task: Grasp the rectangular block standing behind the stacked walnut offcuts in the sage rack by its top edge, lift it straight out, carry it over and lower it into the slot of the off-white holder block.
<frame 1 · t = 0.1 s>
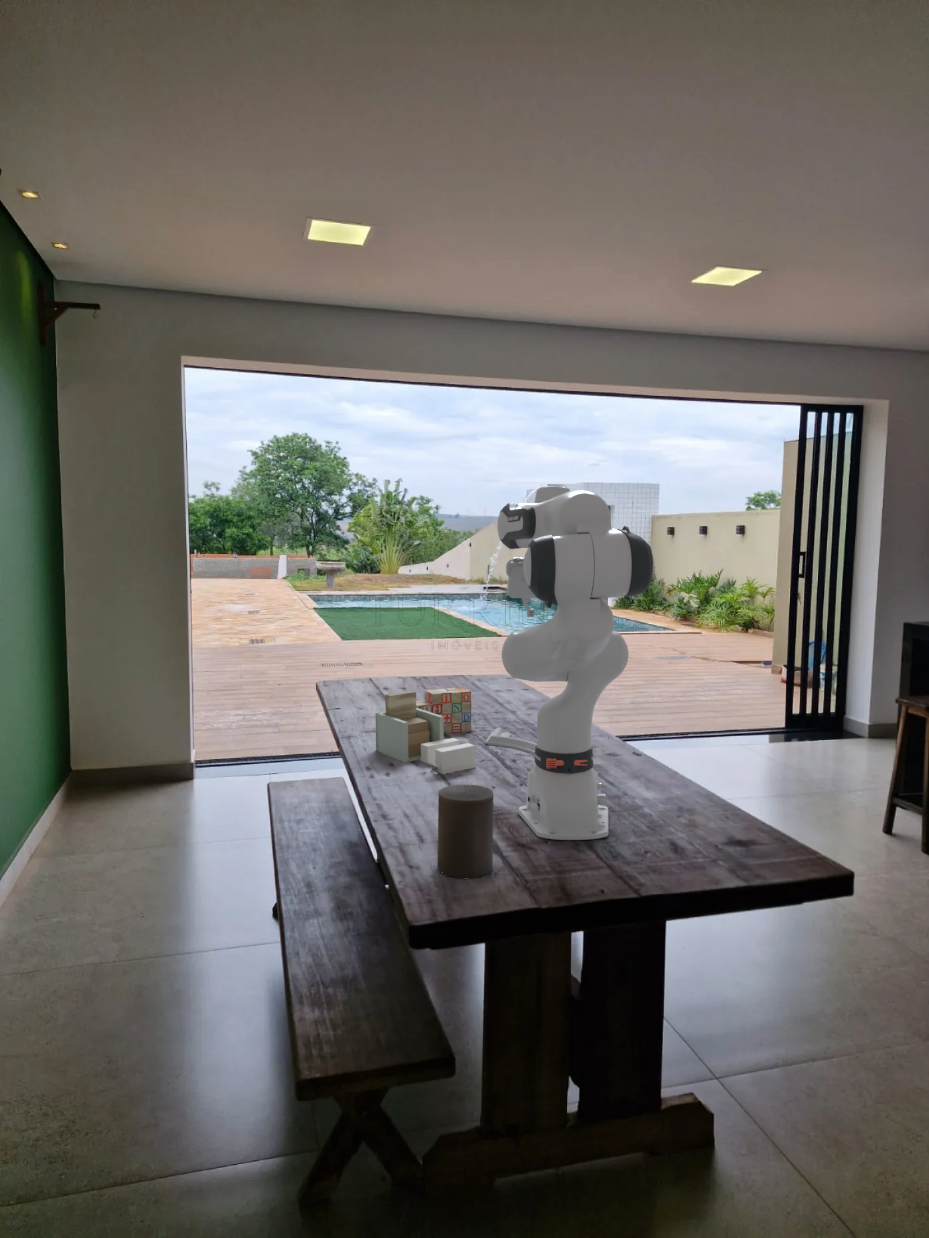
hand: (550, 616, 190), 39 cm above the table, tool pointing down, fingers open, 8 cm apart
pillar candle: (465, 868, 144), on the table
stack of blocks: (433, 733, 240), on the table
molding: (537, 753, 220), on the table
holder: (447, 766, 206), on the table
rack: (409, 756, 214), on the table
rectangular block: (401, 748, 218), point 1 cm above the table, touching rack
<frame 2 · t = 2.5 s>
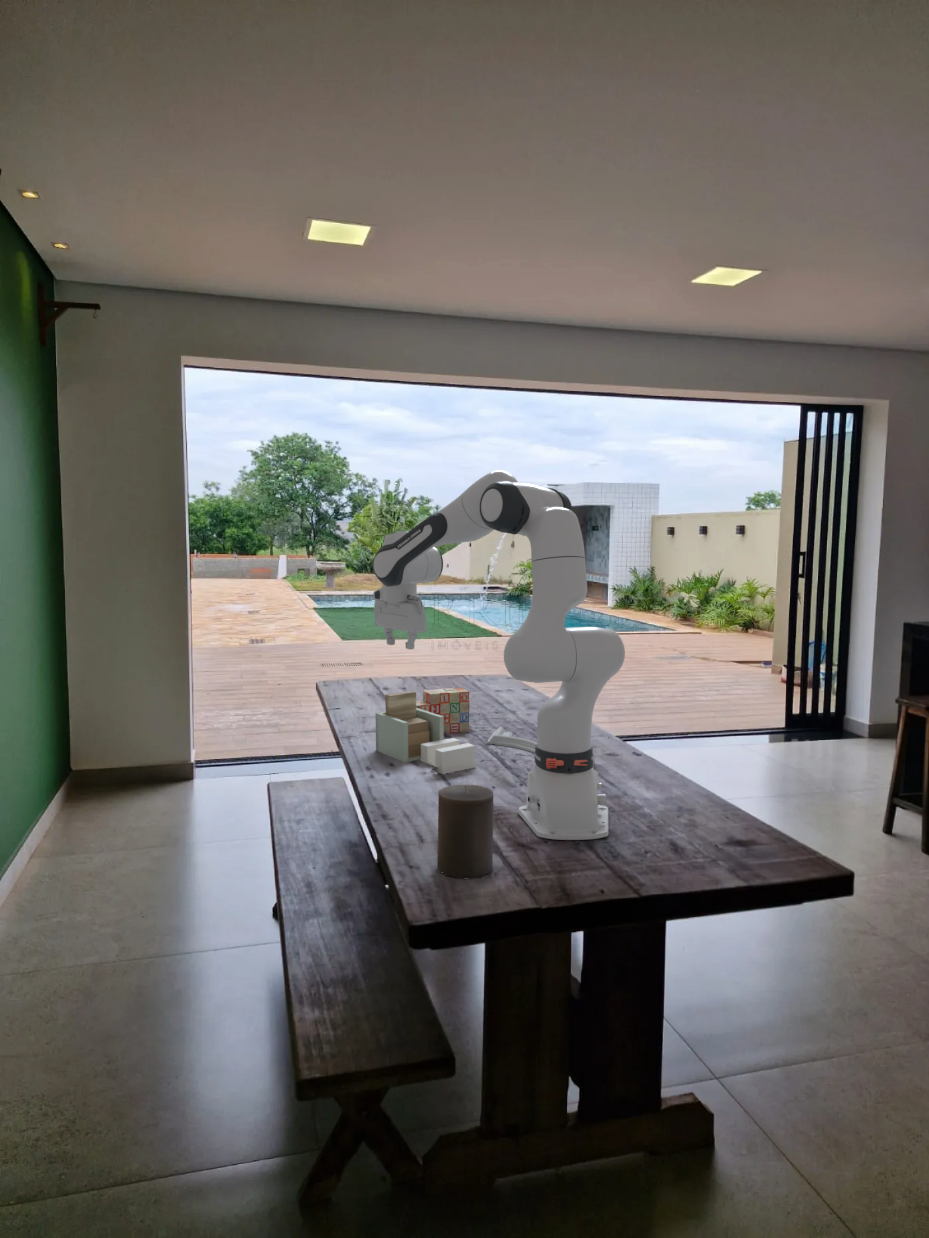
hand: (400, 646, 215), 29 cm above the table, tool pointing down, fingers open, 8 cm apart
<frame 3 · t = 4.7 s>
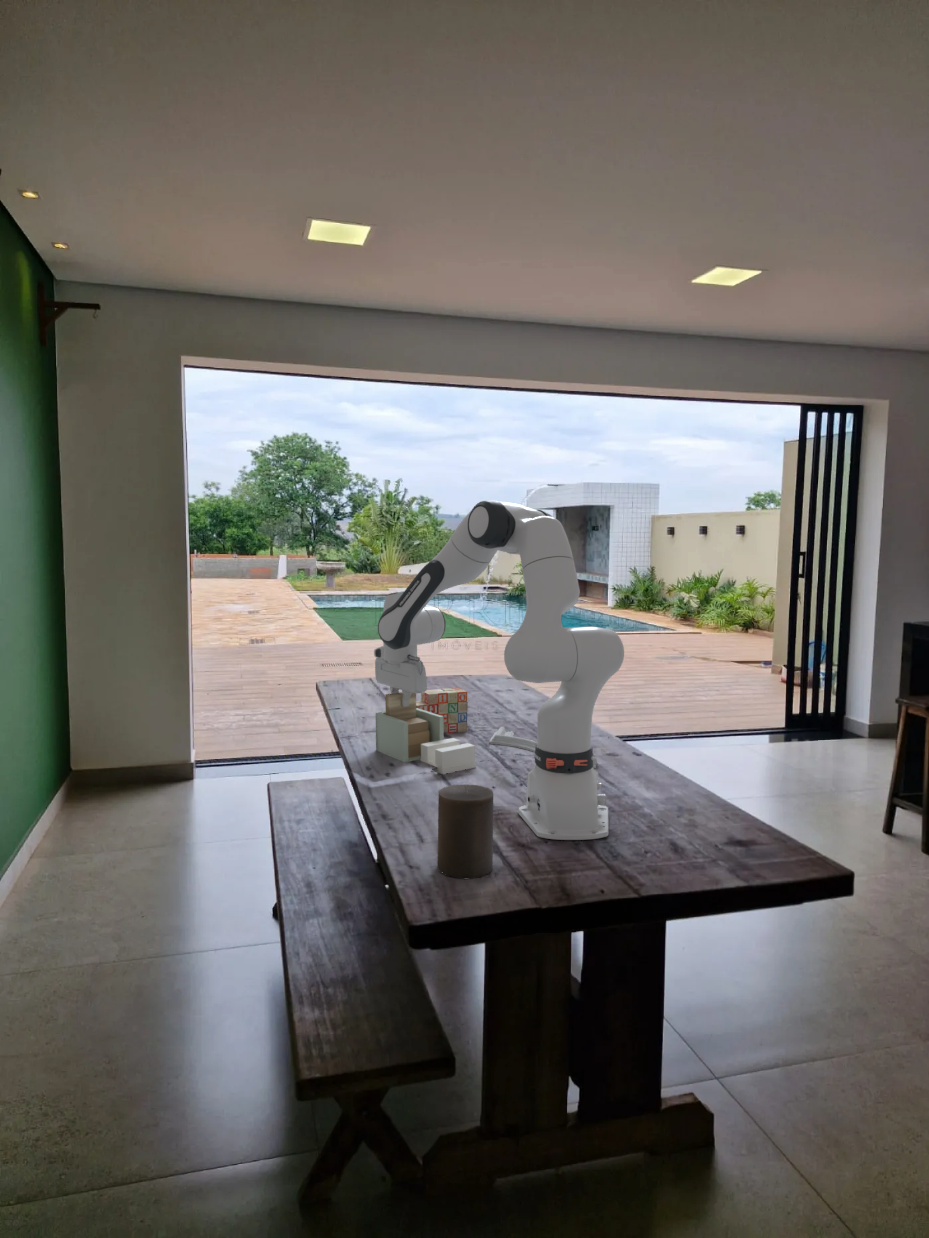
hand: (400, 704, 216), 13 cm above the table, tool pointing down, fingers closed on rectangular block, 2 cm apart
rectangular block: (401, 748, 218), point 1 cm above the table, touching gripper, rack
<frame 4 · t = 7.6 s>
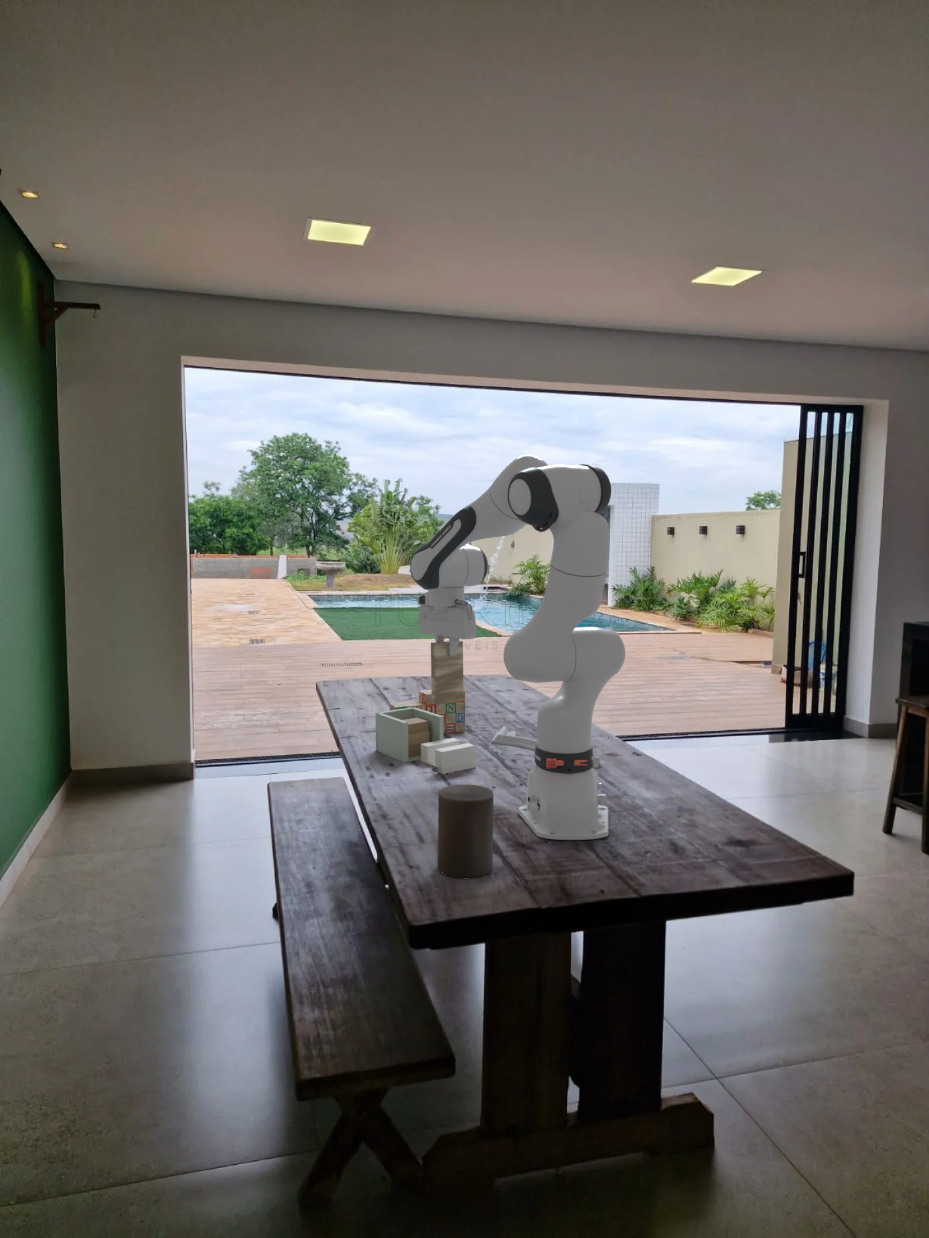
hand: (447, 654, 203), 28 cm above the table, tool pointing down, fingers closed on rectangular block, 2 cm apart
rectangular block: (447, 702, 204), point 16 cm above the table, touching gripper
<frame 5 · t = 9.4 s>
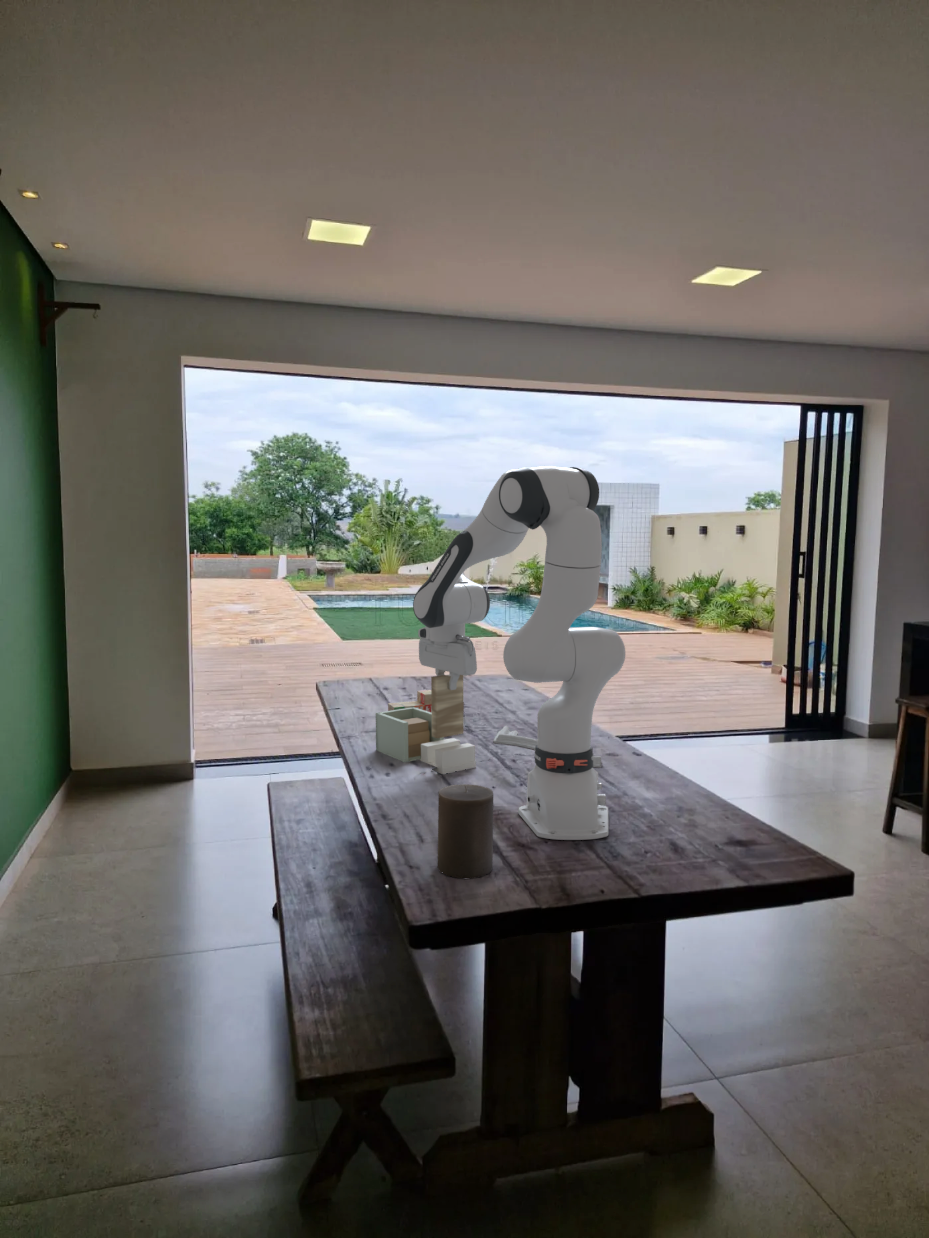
hand: (447, 688, 204), 20 cm above the table, tool pointing down, fingers closed on rectangular block, 2 cm apart
rectangular block: (447, 734, 205), point 8 cm above the table, touching gripper
when the fingers open (14 cm above the table, at t = 10.7 s): rectangular block drops 1 cm, resting on holder.
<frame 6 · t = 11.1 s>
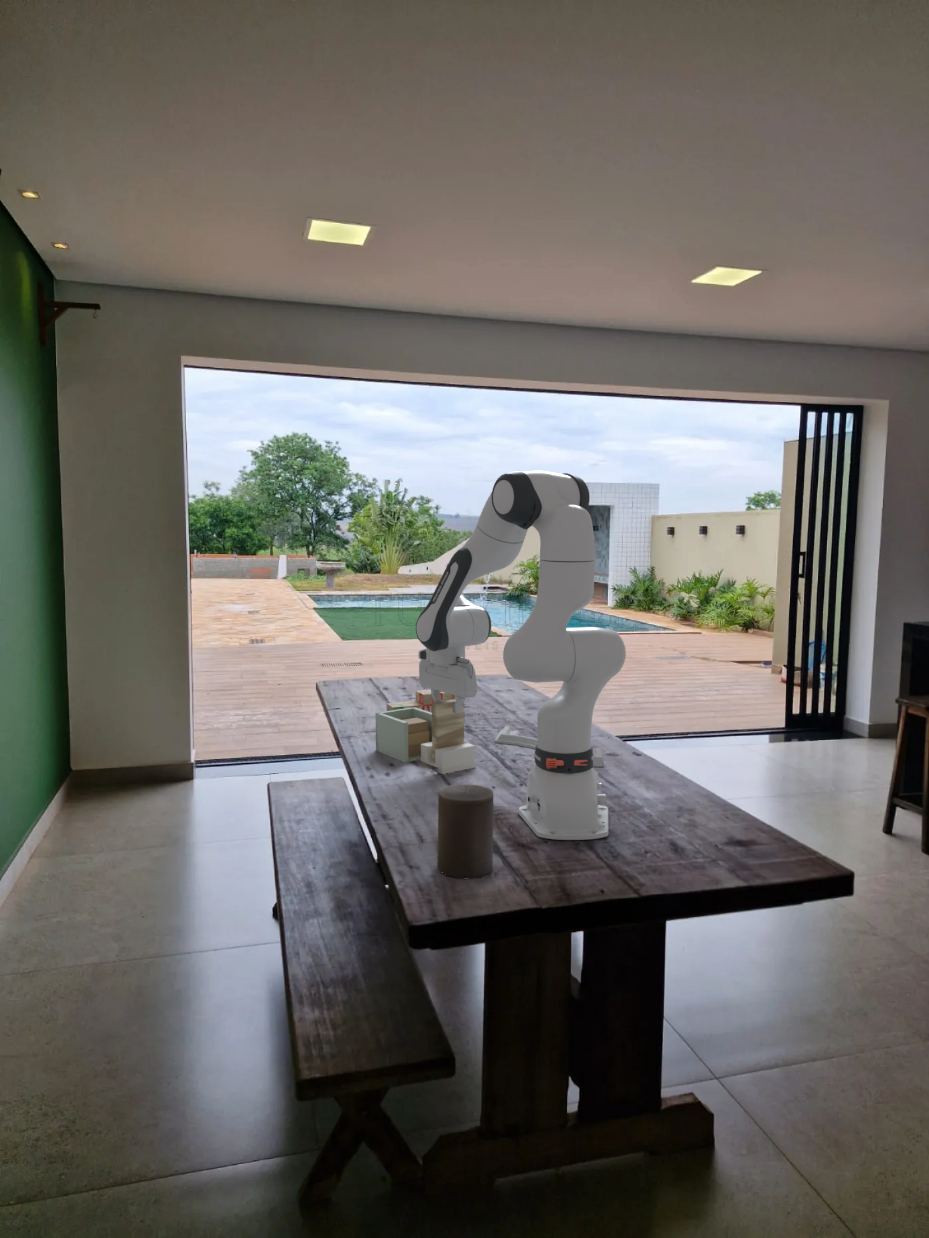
hand: (447, 709, 204), 14 cm above the table, tool pointing down, fingers open, 7 cm apart
rectangular block: (448, 760, 205), point 1 cm above the table, touching holder
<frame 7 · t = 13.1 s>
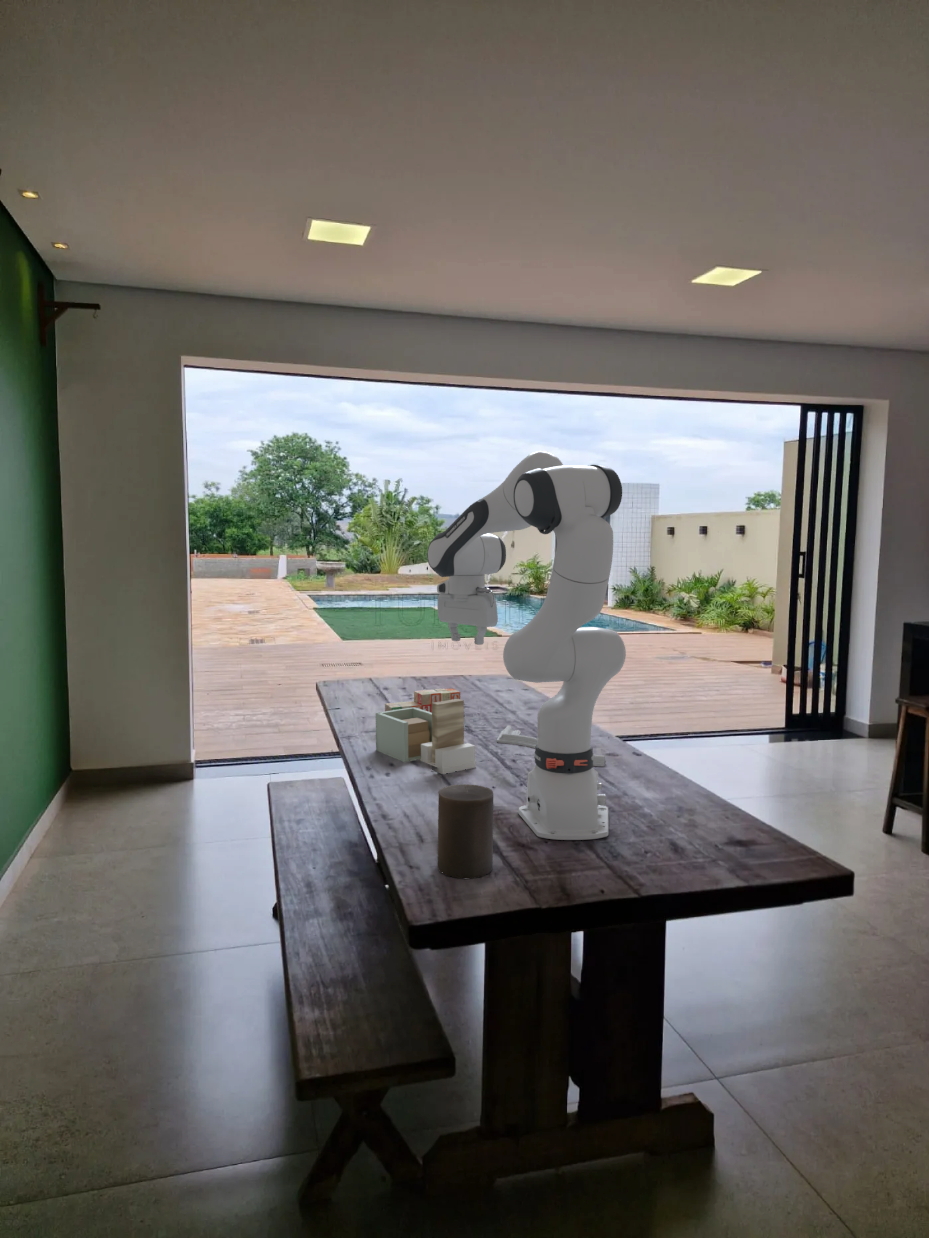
hand: (467, 642, 203), 31 cm above the table, tool pointing down, fingers open, 8 cm apart
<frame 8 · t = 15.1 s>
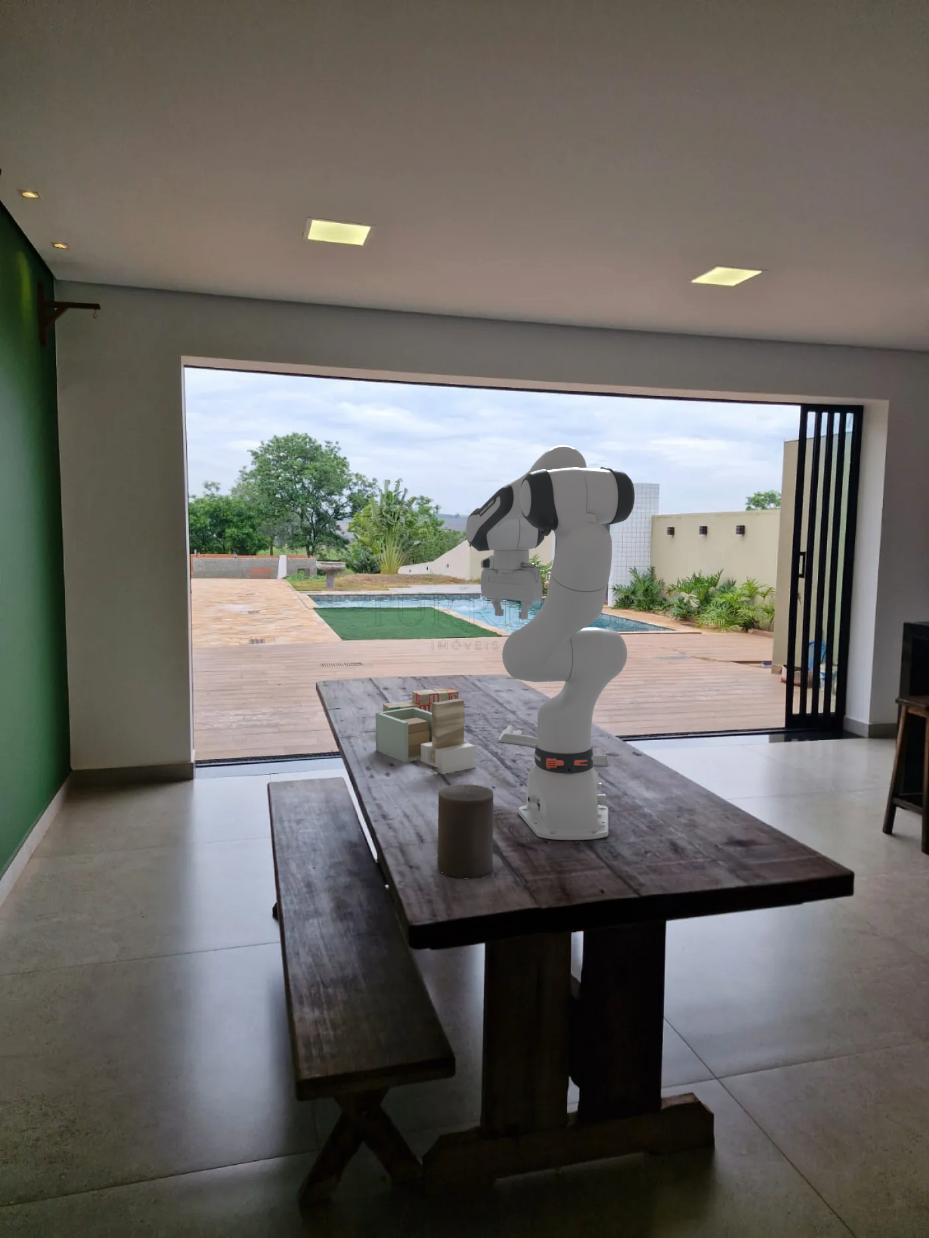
hand: (511, 617, 205), 37 cm above the table, tool pointing down, fingers open, 8 cm apart
at the end: rectangular block inside the target area on the holder (0.1 cm from its centre), point 1.5 cm above the holder's base; rectangular block tilted 0°; the gripper is holding nothing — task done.
